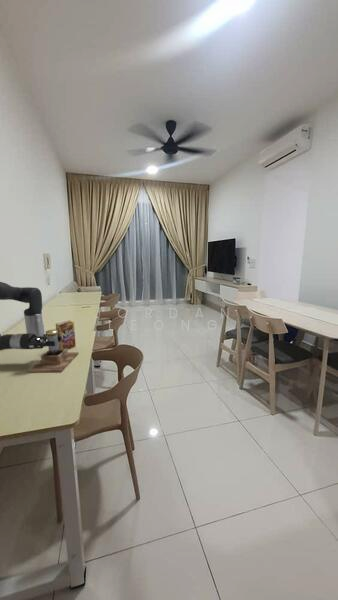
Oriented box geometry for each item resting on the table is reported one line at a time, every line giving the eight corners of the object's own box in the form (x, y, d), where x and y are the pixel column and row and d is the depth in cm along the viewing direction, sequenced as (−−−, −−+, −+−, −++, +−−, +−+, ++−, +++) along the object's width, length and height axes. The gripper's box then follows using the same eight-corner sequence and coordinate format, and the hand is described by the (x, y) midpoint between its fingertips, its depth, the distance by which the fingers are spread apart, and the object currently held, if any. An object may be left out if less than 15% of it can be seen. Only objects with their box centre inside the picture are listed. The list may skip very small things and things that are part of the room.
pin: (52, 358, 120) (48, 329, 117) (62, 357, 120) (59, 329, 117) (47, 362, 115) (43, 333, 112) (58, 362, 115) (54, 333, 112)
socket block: (50, 354, 128) (49, 345, 127) (78, 353, 128) (77, 344, 127) (28, 372, 108) (27, 361, 107) (61, 372, 108) (60, 361, 107)
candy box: (61, 351, 131) (59, 324, 128) (57, 350, 133) (54, 323, 130) (76, 346, 138) (74, 320, 135) (72, 345, 140) (69, 319, 138)
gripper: (13, 339, 108) (50, 338, 108) (31, 329, 122) (64, 328, 122) (15, 354, 110) (51, 354, 109) (33, 343, 124) (65, 342, 124)
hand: (58, 340), depth 116 cm, fingers open, 6 cm apart
